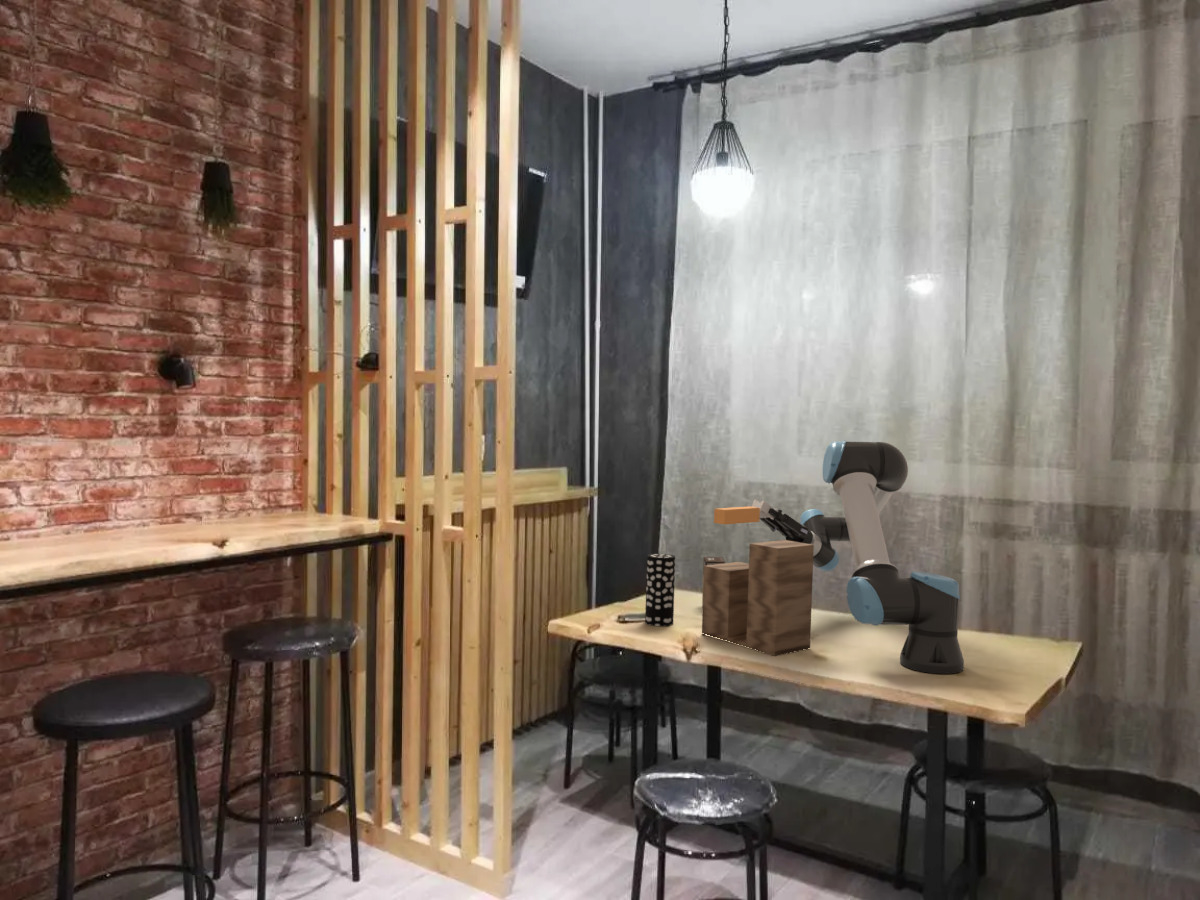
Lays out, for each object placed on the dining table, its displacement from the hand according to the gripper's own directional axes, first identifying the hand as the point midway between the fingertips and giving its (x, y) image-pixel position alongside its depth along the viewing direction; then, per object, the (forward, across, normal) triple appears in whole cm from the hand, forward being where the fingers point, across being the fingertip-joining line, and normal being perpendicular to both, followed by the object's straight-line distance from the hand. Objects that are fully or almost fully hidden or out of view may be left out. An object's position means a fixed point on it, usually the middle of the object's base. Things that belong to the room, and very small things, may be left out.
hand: (757, 504), depth 263 cm
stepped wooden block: (-11, -9, -36) cm, 39 cm away
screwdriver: (0, 0, -6) cm, 6 cm away
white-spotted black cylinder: (-4, +22, -40) cm, 46 cm away
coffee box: (-28, +28, -26) cm, 48 cm away
